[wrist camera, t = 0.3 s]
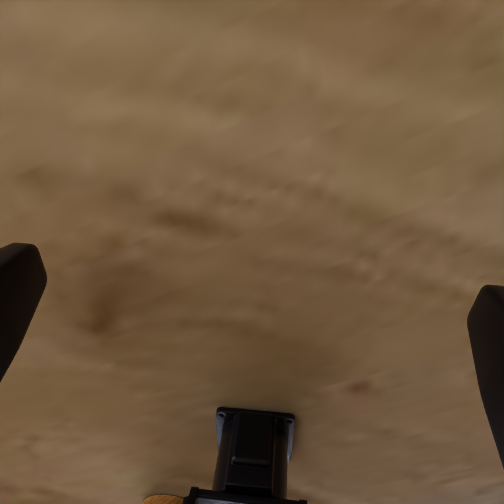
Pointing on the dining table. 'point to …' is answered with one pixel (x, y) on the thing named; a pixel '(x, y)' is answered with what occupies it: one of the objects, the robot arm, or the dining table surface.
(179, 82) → the dining table surface
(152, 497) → the disposable coffee cup
